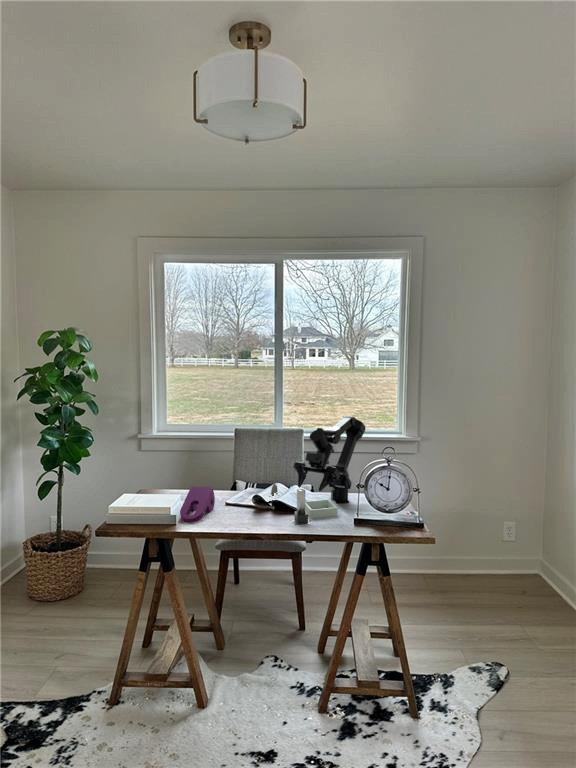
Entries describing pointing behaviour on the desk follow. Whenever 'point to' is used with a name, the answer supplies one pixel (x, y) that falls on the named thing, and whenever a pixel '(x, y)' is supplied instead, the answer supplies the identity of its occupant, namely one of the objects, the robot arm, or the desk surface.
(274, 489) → the pocket watch
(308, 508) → the bin
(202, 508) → the mounting bracket
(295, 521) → the stud plate
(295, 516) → the strut
